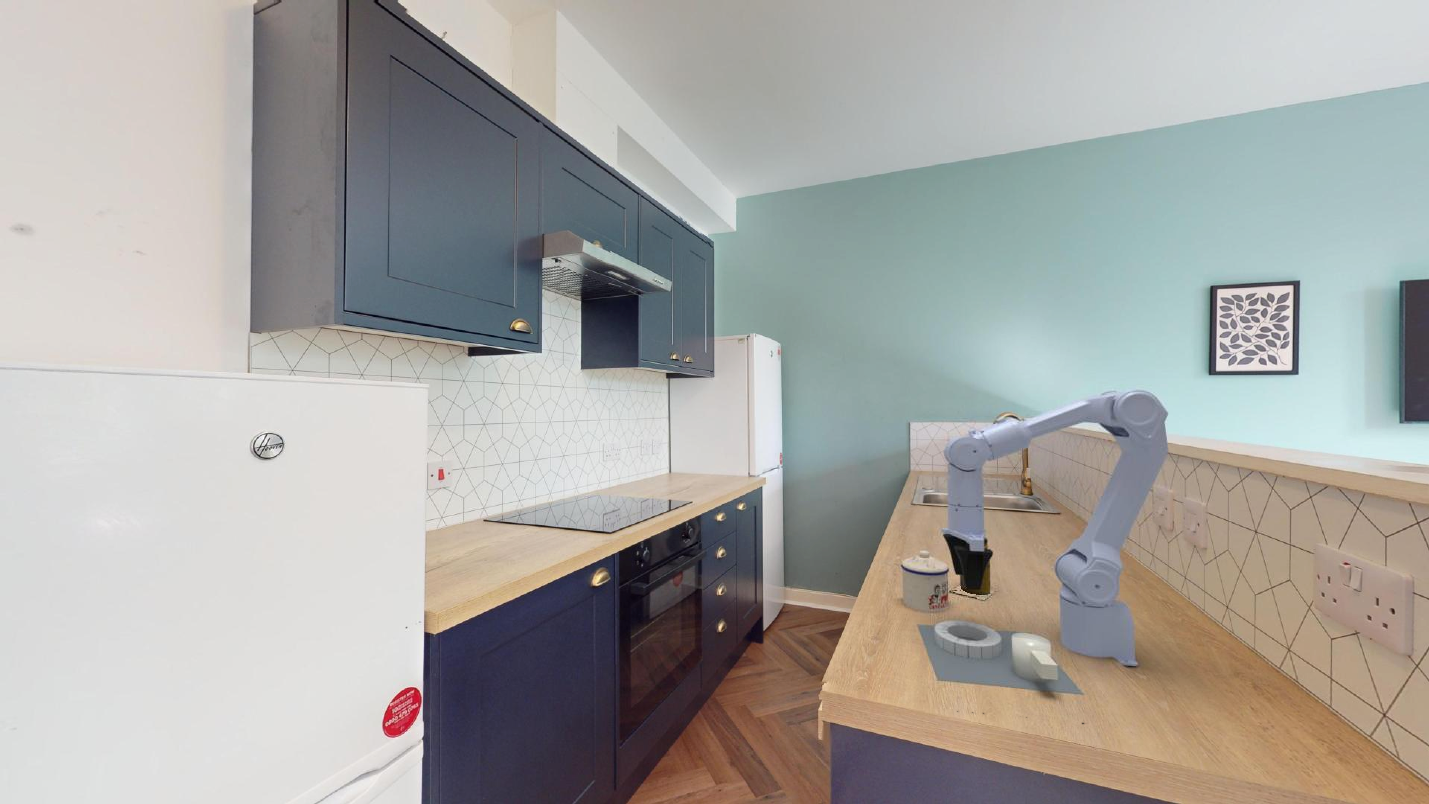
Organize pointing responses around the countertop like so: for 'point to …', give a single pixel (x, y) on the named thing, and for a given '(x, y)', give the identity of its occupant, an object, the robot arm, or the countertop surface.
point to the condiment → (985, 583)
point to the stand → (981, 657)
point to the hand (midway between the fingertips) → (967, 581)
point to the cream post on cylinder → (1033, 658)
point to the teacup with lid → (925, 583)
